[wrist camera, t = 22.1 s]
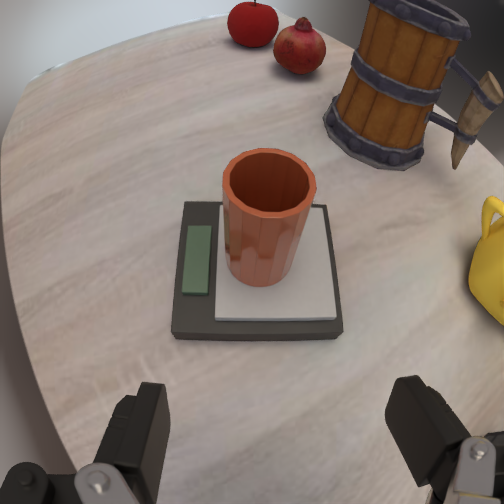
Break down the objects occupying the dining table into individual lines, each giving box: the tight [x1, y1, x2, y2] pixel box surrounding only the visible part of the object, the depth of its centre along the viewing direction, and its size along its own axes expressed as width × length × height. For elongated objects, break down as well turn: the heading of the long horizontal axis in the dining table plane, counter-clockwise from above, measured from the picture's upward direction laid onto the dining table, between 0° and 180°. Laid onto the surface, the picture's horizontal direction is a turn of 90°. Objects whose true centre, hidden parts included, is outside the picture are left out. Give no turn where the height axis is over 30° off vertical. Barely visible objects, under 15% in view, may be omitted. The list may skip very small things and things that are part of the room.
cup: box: [222, 148, 317, 287], centre depth 22 cm, size 5×5×9 cm
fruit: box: [273, 17, 326, 74], centre depth 41 cm, size 8×8×10 cm
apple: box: [227, 0, 279, 47], centre depth 46 cm, size 9×9×10 cm
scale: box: [171, 202, 343, 341], centre depth 27 cm, size 13×12×3 cm
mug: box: [323, 0, 504, 171], centre depth 29 cm, size 19×14×20 cm
